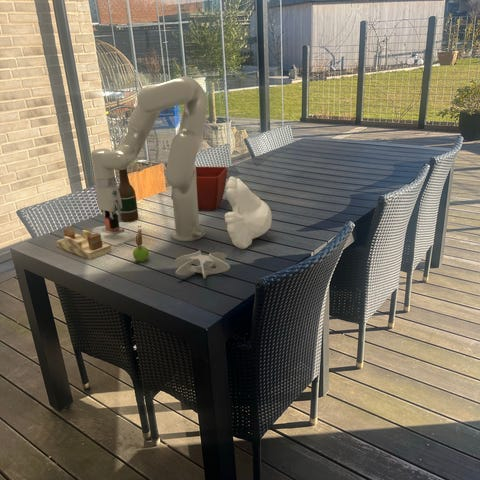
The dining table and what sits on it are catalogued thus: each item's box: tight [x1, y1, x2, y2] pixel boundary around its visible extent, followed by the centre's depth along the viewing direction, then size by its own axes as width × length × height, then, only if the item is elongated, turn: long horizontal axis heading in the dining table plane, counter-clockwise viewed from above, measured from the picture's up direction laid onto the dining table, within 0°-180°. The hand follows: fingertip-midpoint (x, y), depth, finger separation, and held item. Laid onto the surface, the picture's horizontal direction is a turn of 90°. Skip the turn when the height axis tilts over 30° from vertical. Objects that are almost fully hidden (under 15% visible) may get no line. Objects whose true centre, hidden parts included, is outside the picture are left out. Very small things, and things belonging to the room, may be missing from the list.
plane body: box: [56, 227, 112, 261], centre depth 180 cm, size 22×9×8 cm, turn 50°
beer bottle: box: [118, 167, 139, 223], centre depth 208 cm, size 8×8×24 cm
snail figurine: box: [132, 225, 150, 262], centre depth 167 cm, size 5×6×12 cm
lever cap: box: [101, 216, 125, 235], centre depth 189 cm, size 8×5×6 cm, turn 50°
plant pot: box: [195, 166, 228, 211], centre depth 222 cm, size 19×19×17 cm
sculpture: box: [174, 249, 231, 280], centre depth 157 cm, size 18×20×6 cm
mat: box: [100, 231, 136, 247], centre depth 191 cm, size 16×11×1 cm
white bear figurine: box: [224, 176, 273, 250], centre depth 177 cm, size 25×16×25 cm
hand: (112, 226), depth 190 cm, fingers closed on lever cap, 3 cm apart
